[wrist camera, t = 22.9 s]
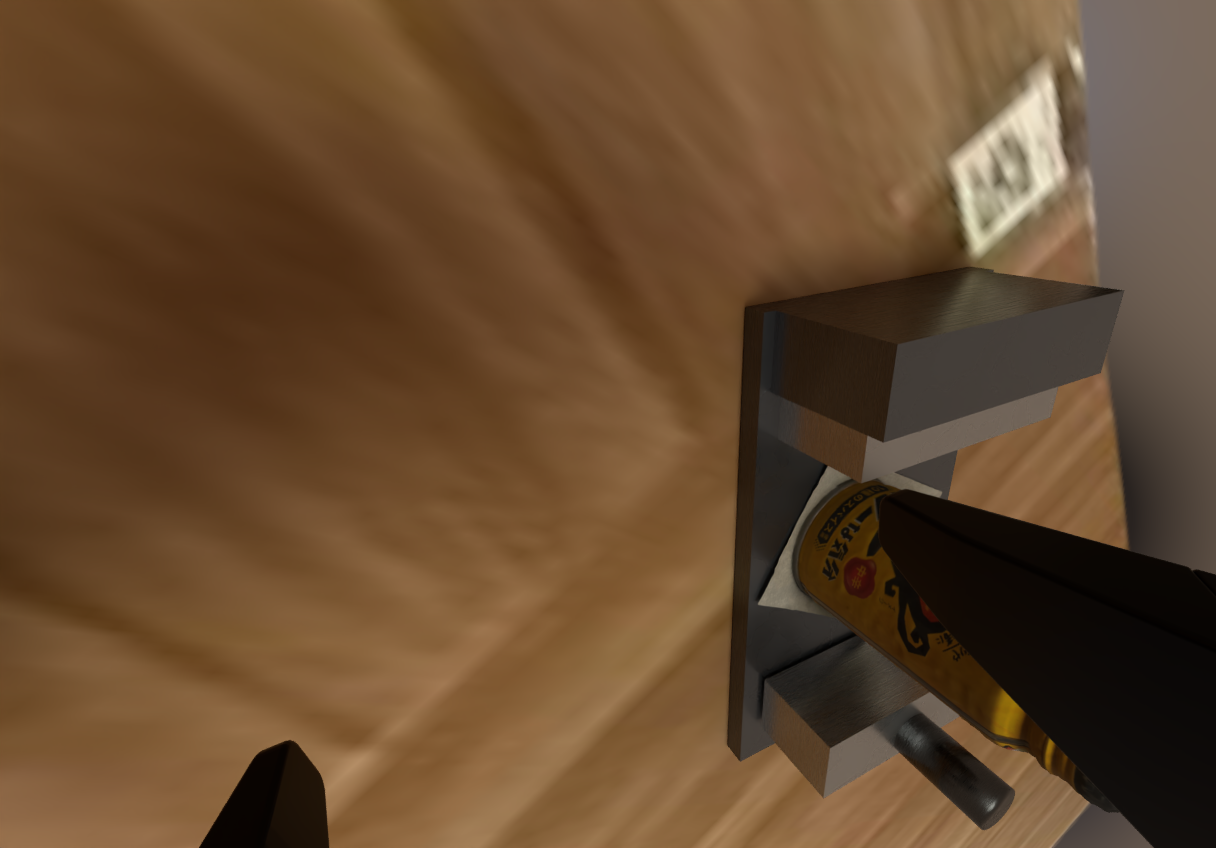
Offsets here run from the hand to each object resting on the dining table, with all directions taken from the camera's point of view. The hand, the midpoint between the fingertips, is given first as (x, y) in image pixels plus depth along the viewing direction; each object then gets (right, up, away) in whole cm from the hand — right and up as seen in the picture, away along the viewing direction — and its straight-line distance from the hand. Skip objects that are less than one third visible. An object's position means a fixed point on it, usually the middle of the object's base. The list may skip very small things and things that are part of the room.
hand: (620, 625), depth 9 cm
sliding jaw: (+12, -9, +22) cm, 26 cm away
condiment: (+11, -2, +19) cm, 22 cm away
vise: (+11, -2, +20) cm, 22 cm away
